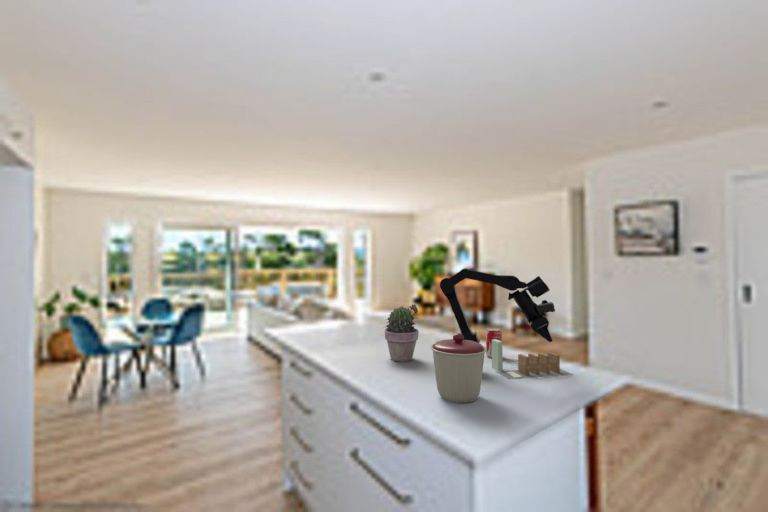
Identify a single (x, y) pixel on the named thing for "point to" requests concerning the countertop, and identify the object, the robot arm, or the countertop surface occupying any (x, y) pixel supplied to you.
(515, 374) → the domino mat
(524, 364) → the tile
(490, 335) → the soda can
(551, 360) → the end tile
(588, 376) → the countertop surface
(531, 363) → the tile
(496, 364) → the tile
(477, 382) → the canister
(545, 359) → the tile
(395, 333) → the potted plant
